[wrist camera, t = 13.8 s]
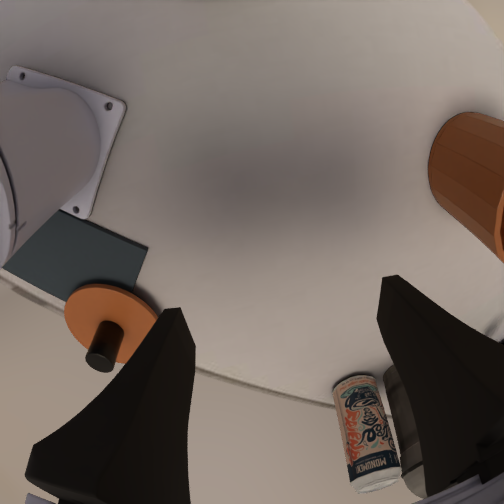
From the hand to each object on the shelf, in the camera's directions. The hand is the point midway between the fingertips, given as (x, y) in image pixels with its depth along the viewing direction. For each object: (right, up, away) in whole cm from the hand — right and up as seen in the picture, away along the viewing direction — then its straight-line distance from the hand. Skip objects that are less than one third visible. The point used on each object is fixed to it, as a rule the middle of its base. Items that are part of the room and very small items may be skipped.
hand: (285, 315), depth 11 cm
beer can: (+9, -12, +19) cm, 24 cm away
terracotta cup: (+14, +8, +7) cm, 18 cm away
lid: (-12, -4, +12) cm, 17 cm away
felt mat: (-17, +2, +9) cm, 19 cm away
